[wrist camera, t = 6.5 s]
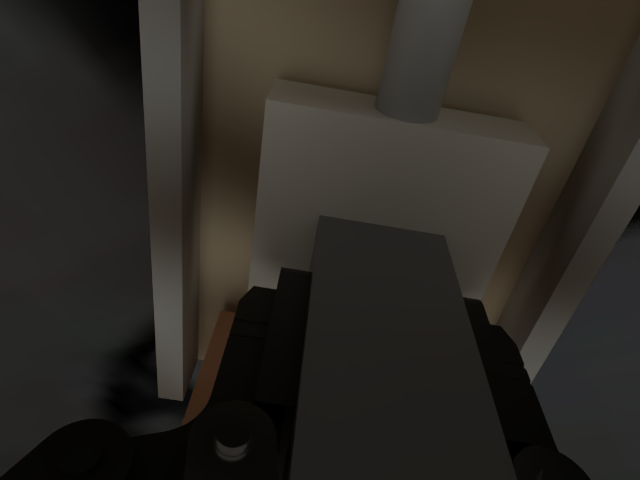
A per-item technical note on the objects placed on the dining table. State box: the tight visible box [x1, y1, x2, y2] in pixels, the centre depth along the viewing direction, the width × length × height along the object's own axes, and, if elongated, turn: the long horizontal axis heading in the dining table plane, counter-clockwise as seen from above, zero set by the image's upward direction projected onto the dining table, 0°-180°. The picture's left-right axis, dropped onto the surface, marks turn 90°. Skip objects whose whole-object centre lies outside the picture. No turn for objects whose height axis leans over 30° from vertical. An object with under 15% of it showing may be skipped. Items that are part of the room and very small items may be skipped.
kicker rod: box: [181, 0, 550, 480], centre depth 9 cm, size 14×8×9 cm, turn 171°
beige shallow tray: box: [138, 0, 640, 401], centre depth 13 cm, size 15×12×3 cm
